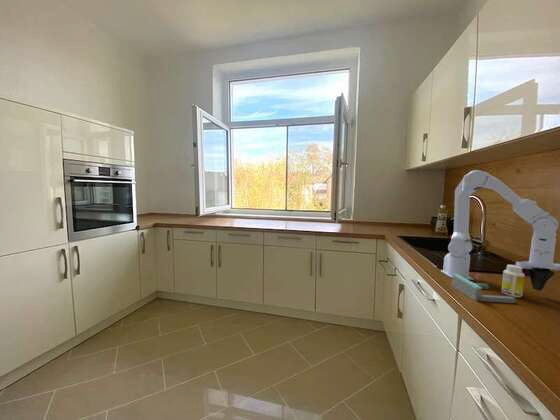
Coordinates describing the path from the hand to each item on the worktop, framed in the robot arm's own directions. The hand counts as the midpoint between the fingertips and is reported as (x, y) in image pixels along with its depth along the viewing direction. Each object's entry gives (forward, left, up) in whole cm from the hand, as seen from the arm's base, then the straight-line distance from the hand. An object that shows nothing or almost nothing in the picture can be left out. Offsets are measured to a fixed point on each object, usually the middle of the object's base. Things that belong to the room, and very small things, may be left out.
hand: (537, 289), depth 89 cm
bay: (+1, -19, -2) cm, 19 cm away
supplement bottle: (0, -8, -3) cm, 9 cm away
